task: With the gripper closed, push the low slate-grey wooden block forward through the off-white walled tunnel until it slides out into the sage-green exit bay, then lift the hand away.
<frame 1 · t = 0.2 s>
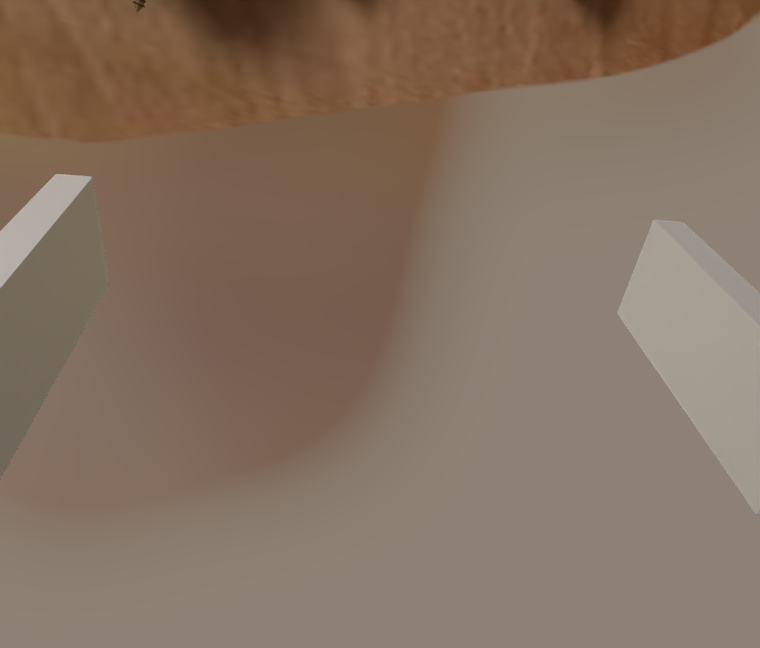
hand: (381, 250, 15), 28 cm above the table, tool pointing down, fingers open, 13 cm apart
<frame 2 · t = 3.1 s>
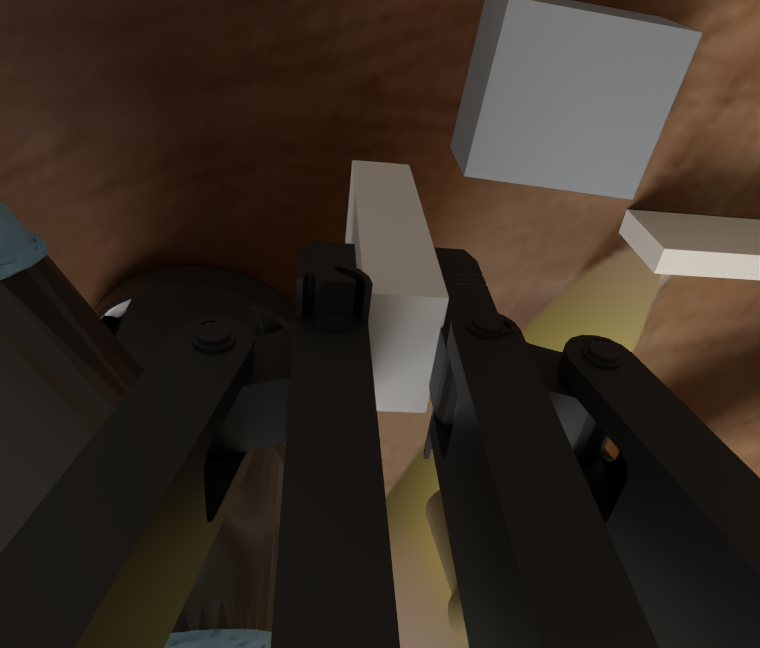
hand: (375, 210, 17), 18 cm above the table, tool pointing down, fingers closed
slate block: (549, 83, 33), on the table
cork: (461, 505, 52), on the table
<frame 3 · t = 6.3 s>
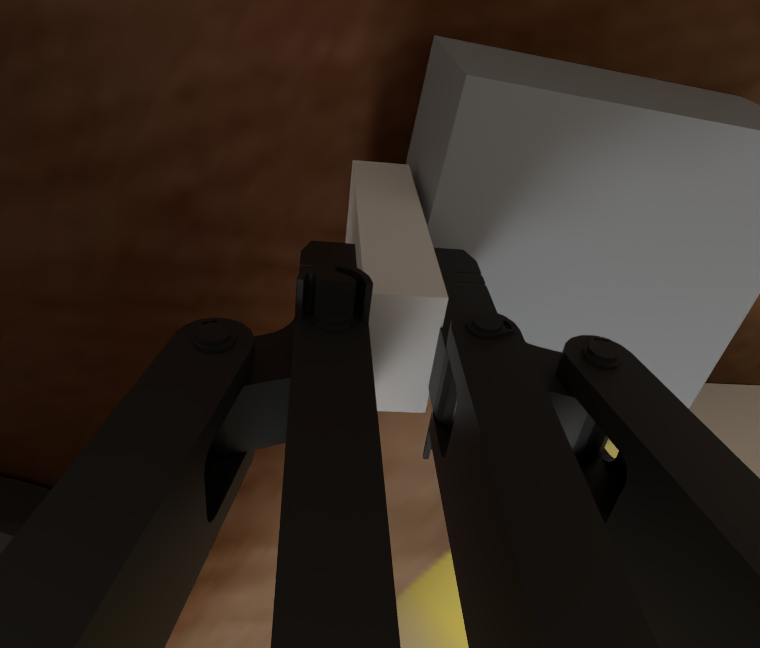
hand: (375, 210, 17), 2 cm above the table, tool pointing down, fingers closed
slate block: (544, 202, 19), on the table
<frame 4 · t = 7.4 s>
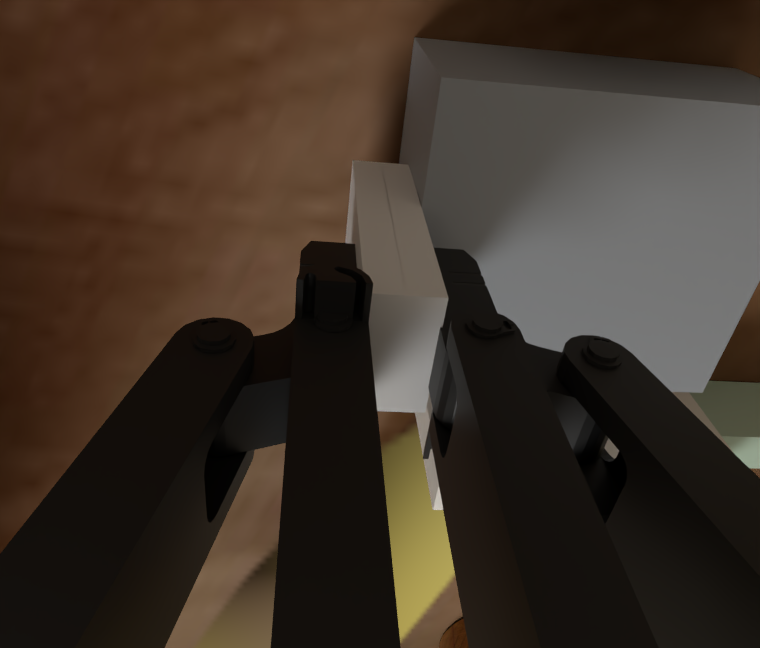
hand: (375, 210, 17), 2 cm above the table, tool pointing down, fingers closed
disposable coffee cup: (496, 635, 33), on the table
slate block: (541, 192, 19), on the table, touching gripper
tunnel: (757, 221, 20), on the table
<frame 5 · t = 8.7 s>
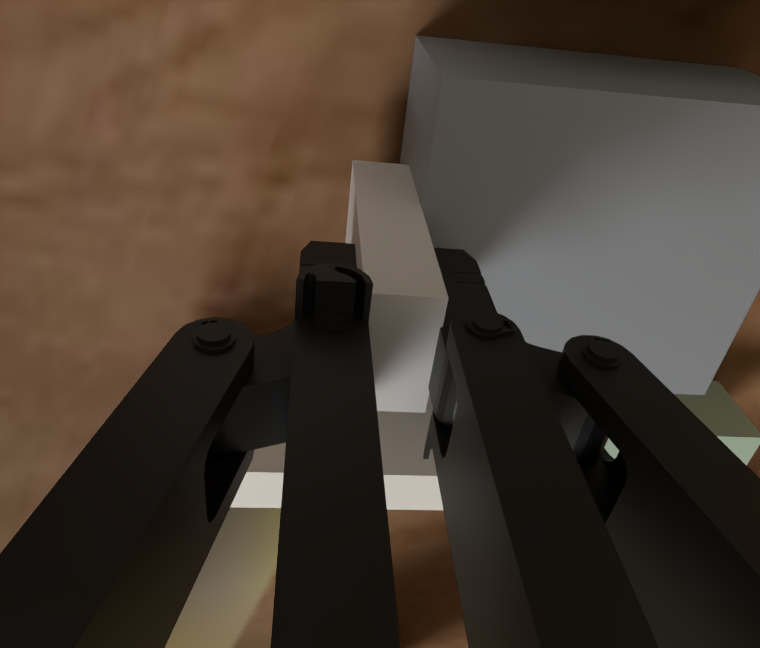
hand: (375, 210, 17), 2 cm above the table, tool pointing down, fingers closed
slate block: (543, 192, 19), on the table, touching gripper
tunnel: (499, 200, 19), on the table
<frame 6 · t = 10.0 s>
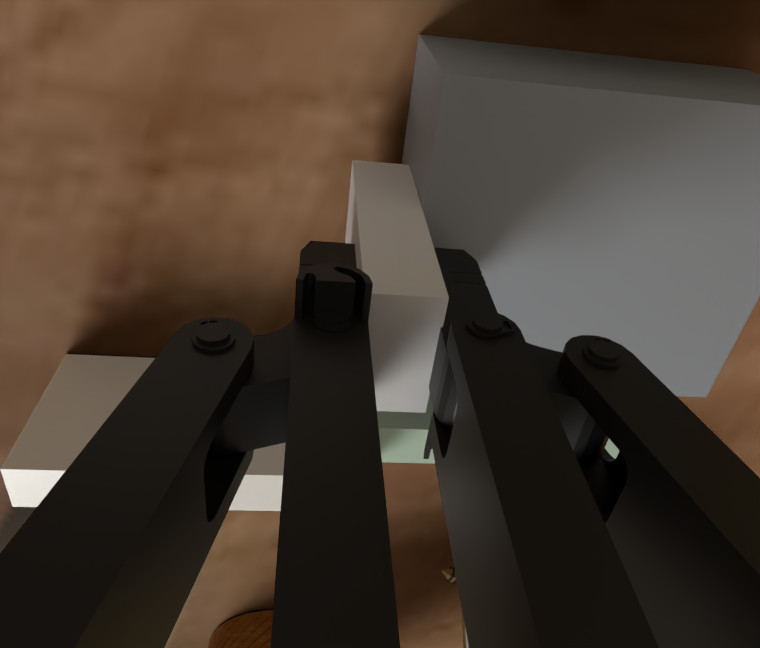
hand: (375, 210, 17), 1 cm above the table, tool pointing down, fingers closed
disposable coffee cup: (273, 639, 32), on the table
slate block: (545, 192, 19), on the table
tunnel: (389, 191, 18), on the table
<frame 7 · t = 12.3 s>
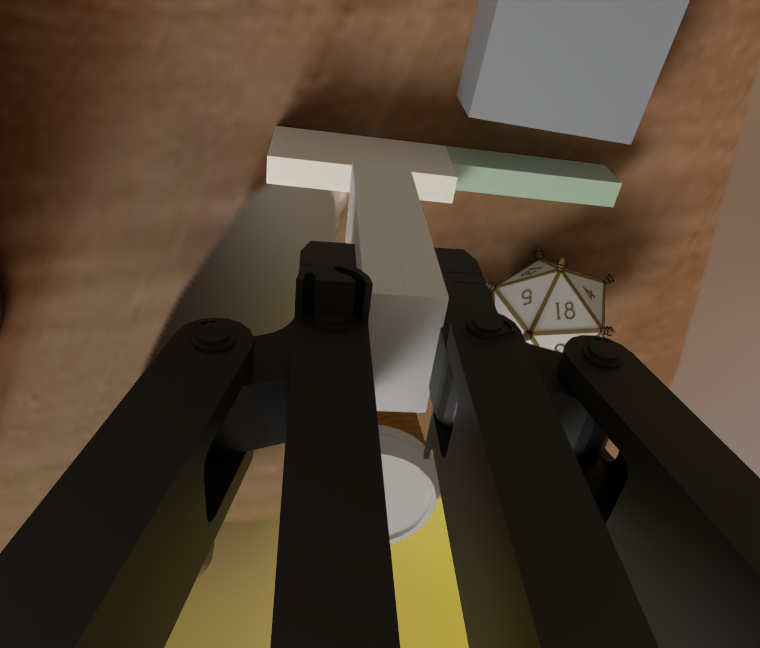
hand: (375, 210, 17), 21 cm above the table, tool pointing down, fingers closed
disposable coffee cup: (360, 373, 47), on the table
slate block: (552, 33, 34), on the table
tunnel: (468, 27, 34), on the table
game die: (532, 284, 43), on the table
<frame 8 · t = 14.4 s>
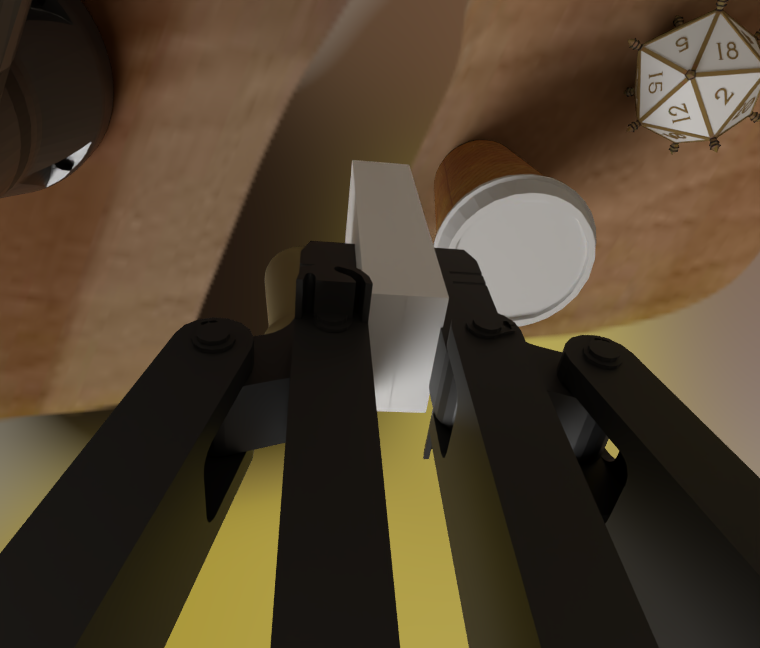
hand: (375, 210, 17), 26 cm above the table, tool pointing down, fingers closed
disposable coffee cup: (476, 181, 45), on the table
game die: (665, 65, 41), on the table
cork: (304, 279, 49), on the table
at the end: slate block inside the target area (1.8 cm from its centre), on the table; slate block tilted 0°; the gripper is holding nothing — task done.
